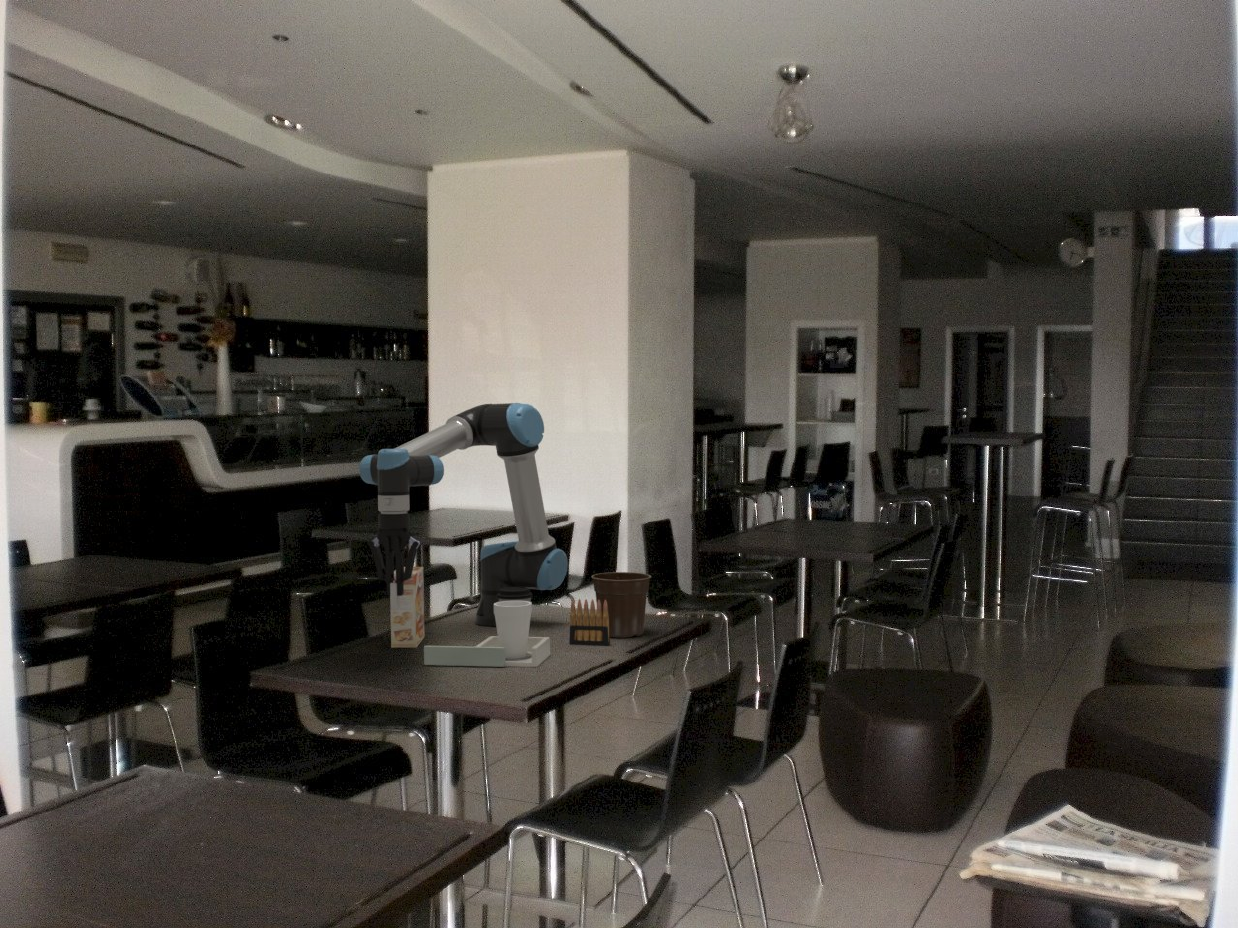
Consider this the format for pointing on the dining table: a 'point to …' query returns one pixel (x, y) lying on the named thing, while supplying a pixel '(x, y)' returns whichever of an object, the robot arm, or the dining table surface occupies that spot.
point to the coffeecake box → (409, 613)
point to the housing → (535, 651)
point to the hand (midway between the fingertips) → (395, 608)
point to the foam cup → (513, 626)
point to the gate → (464, 656)
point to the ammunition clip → (589, 625)
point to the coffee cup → (514, 594)
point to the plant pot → (623, 601)
